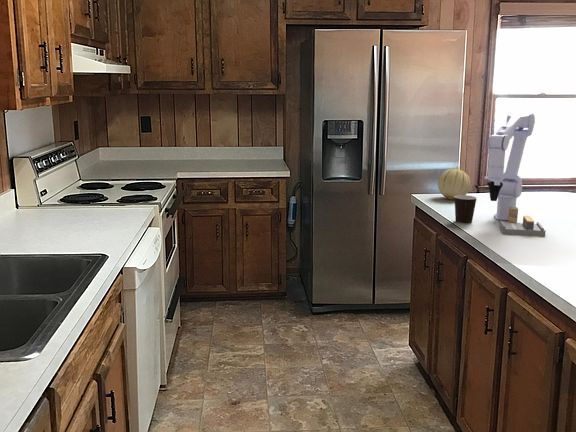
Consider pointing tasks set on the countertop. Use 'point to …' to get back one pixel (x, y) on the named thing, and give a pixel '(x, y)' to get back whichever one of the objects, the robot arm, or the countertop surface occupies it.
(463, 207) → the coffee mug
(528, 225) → the breaker toggle
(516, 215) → the oak post
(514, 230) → the box
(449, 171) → the cantaloupe
